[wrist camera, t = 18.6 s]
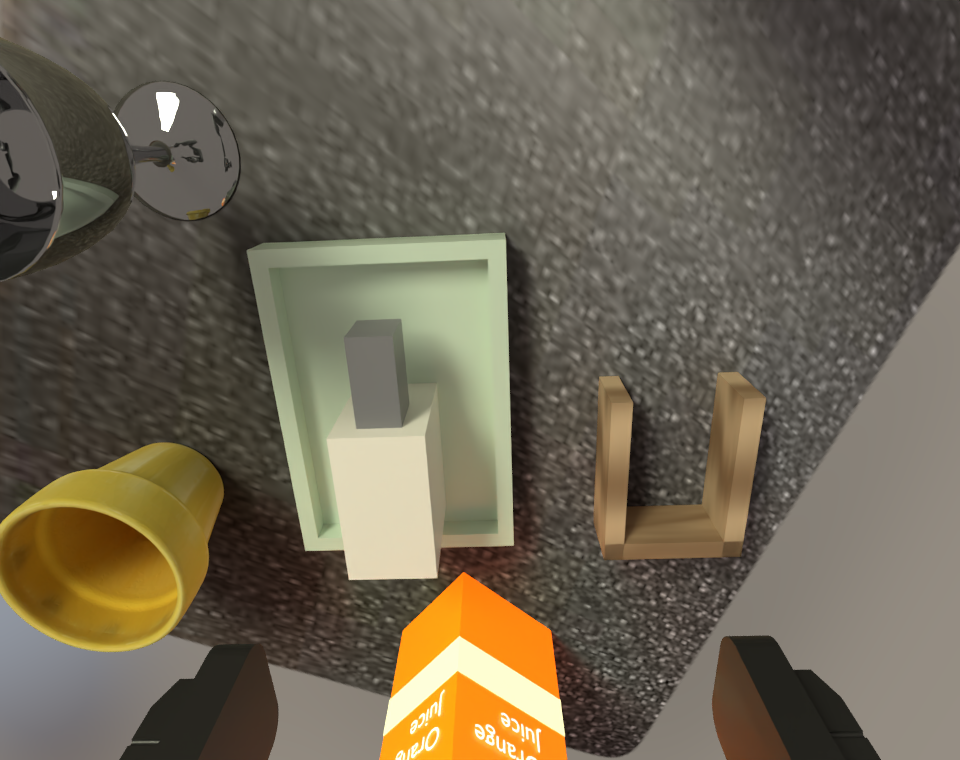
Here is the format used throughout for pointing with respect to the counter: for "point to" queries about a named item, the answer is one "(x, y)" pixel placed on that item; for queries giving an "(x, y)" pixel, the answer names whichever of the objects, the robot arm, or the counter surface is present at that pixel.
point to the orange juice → (474, 683)
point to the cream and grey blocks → (387, 461)
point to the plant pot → (113, 549)
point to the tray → (428, 355)
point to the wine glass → (99, 159)
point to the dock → (678, 526)
